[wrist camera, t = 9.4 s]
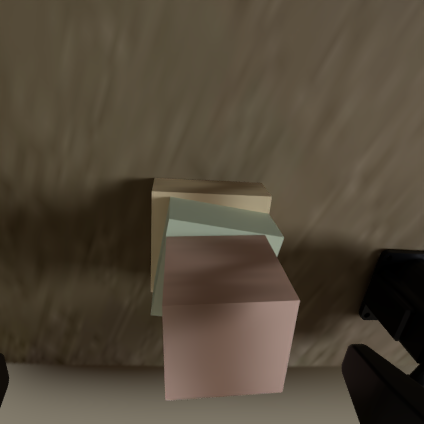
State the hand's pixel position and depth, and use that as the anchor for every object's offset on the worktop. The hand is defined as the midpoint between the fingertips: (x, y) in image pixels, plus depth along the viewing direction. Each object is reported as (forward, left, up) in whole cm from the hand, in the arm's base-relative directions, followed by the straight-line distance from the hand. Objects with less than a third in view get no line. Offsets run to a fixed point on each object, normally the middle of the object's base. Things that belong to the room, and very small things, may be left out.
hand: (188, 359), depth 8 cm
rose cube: (-2, +3, -8) cm, 9 cm away
